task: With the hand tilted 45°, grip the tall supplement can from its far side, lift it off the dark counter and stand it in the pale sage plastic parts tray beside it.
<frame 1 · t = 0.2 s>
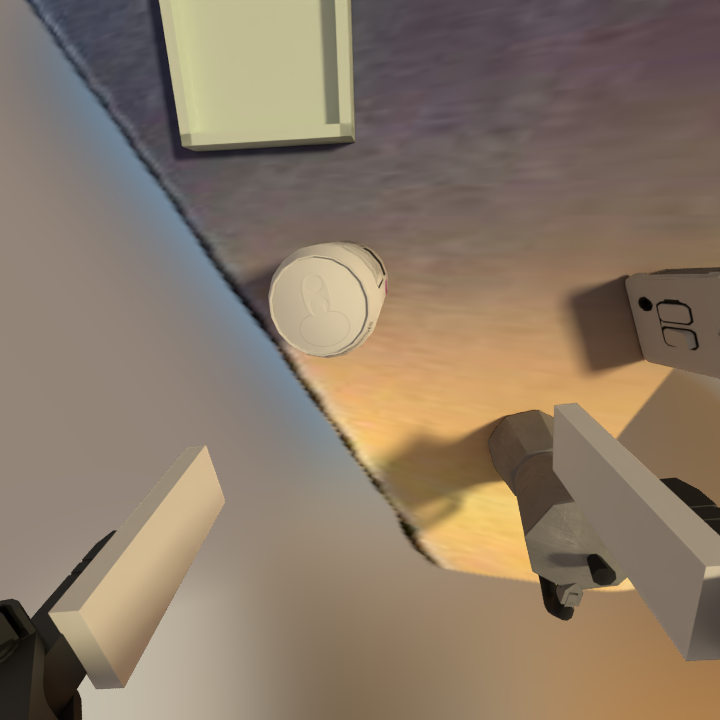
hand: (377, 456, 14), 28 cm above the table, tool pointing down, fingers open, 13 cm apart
electrical switch: (659, 307, 37), on the table
supplement can: (350, 281, 40), on the table
parts tray: (262, 20, 33), on the table
coffeepot: (525, 451, 44), on the table
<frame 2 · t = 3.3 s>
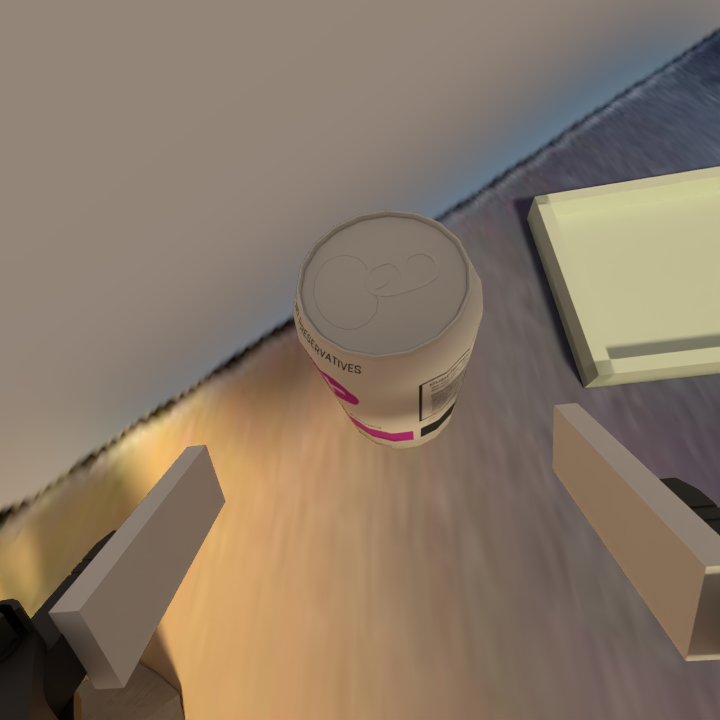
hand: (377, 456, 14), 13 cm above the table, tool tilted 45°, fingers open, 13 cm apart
supplement can: (400, 396, 29), on the table
parts tray: (686, 275, 29), on the table
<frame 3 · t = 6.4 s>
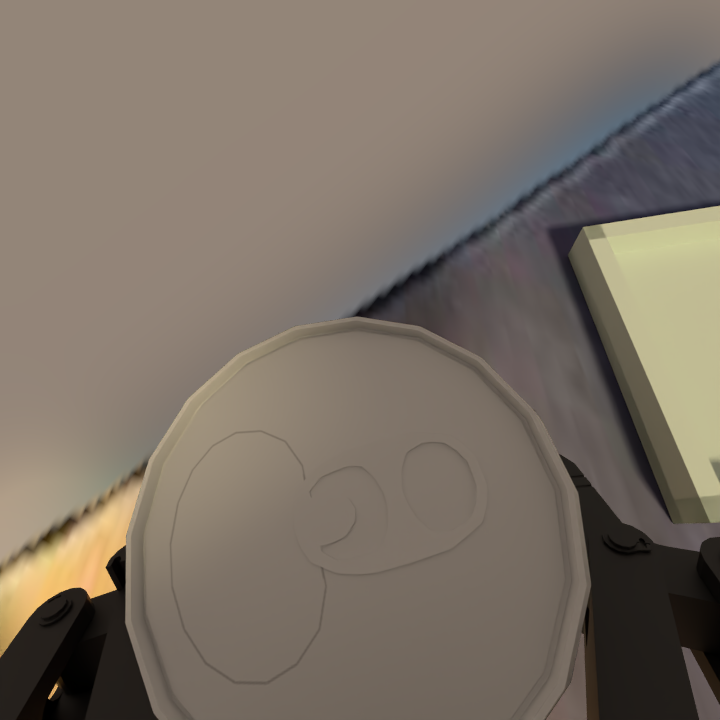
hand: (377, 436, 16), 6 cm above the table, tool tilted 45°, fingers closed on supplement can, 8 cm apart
supplement can: (395, 524, 19), on the table, touching gripper
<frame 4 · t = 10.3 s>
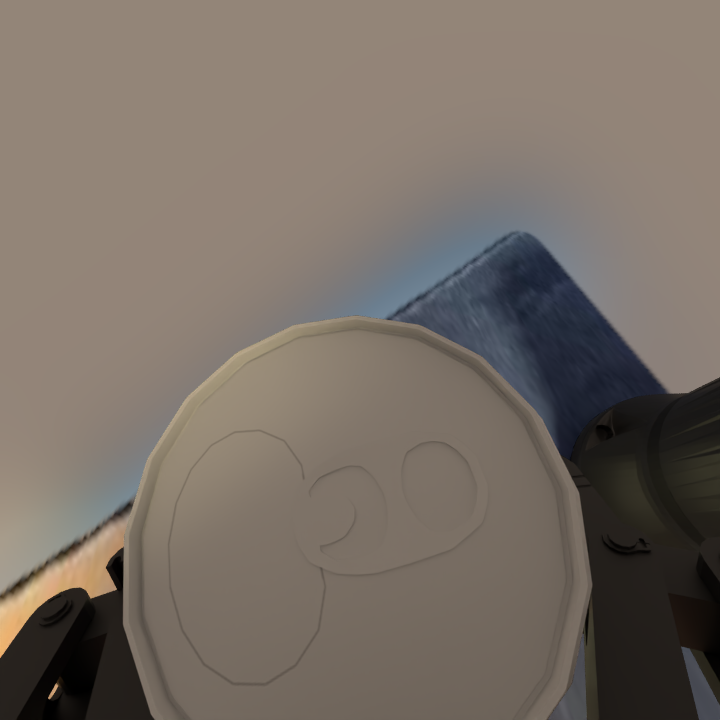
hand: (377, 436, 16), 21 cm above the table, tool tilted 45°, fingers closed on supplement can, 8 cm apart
supplement can: (395, 524, 19), point 15 cm above the table, touching gripper
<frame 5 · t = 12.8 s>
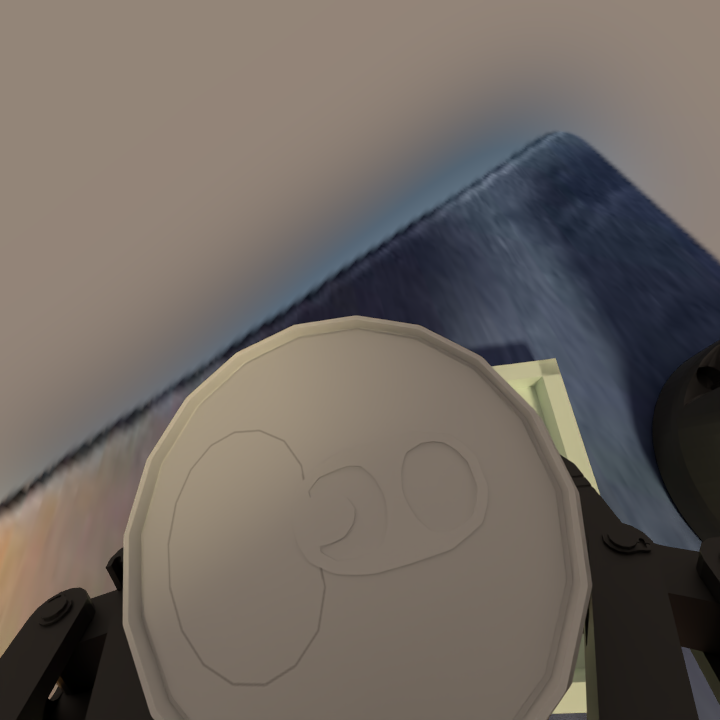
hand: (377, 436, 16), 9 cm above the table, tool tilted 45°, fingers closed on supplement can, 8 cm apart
supplement can: (395, 524, 19), point 3 cm above the table, touching gripper
parts tray: (405, 521, 22), on the table
when the fingers open (7 cm above the table, at t = 14.6 s): supplement can stays where it is, resting on parts tray.
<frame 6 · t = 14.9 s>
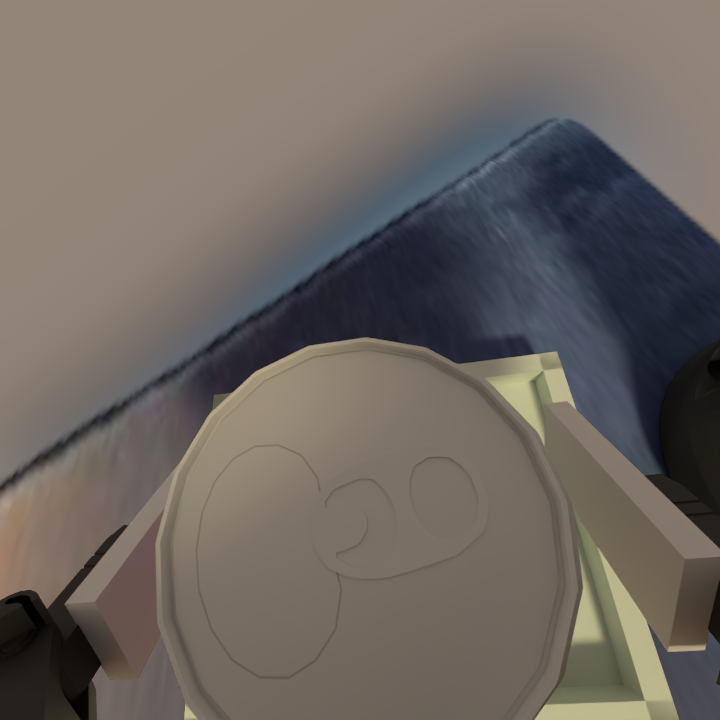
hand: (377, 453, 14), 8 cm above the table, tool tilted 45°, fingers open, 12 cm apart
supplement can: (396, 525, 20), point 1 cm above the table, touching parts tray
parts tray: (396, 525, 21), on the table
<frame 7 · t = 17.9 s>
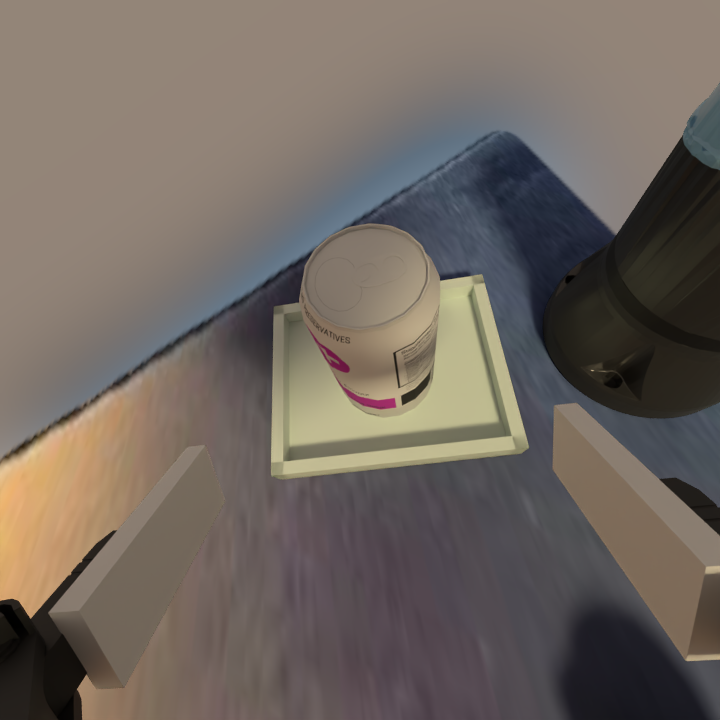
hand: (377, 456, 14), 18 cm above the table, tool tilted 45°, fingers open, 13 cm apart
supplement can: (386, 376, 34), point 1 cm above the table, touching parts tray
parts tray: (386, 378, 35), on the table
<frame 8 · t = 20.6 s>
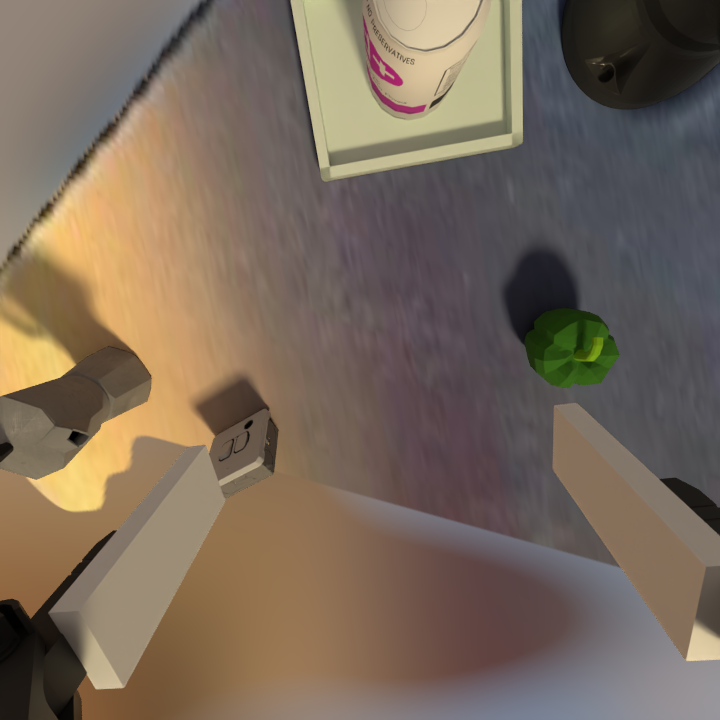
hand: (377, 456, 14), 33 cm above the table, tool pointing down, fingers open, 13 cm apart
electrical switch: (254, 433, 53), on the table
supplement can: (409, 73, 37), point 1 cm above the table, touching parts tray
parts tray: (408, 75, 37), on the table
coffeepot: (112, 377, 51), on the table
bell pepper: (549, 334, 46), on the table
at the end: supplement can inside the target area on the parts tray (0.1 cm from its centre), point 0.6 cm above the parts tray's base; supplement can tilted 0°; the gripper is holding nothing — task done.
